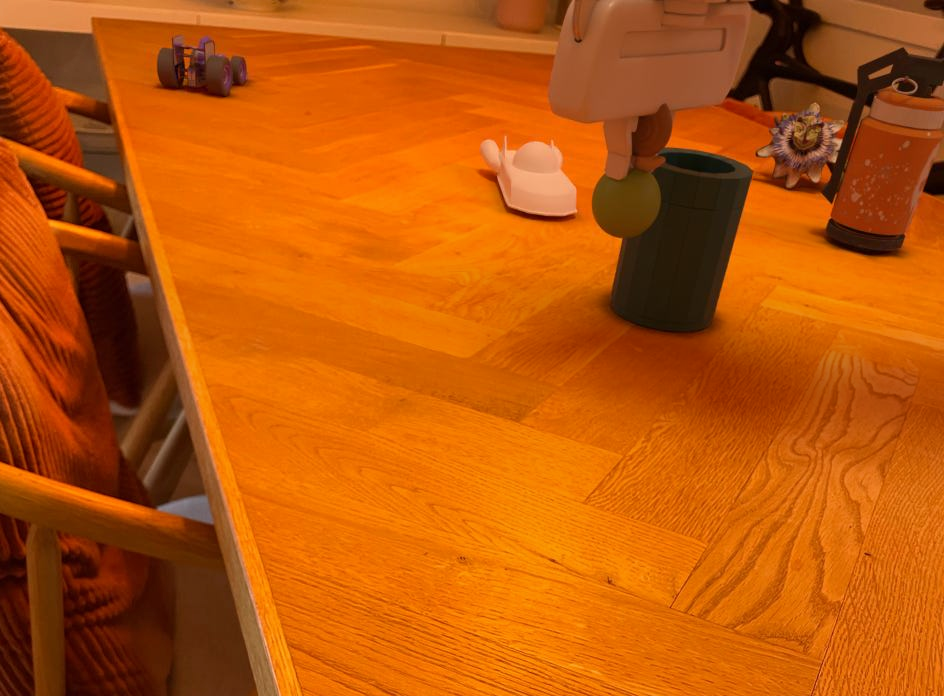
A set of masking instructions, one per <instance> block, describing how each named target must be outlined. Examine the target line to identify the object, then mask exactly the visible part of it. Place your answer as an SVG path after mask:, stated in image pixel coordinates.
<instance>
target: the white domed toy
mask: <svg viewBox="0 0 944 696" xmlns="http://www.w3.org/2000/svg"><path fill="white" fill-rule="evenodd" d="M507 141H508V140H507V135H504V138H503V143H502V149H501V150H500V148H499V146H498V145H497V143H496V141H494V140H493V139H485V140H483V141H482V142H481V143H480V146H479V154H480V156H481V158H482V159H483V161H484V162H485V164H486V165H487V167H488V168H490V169H491V170H492V171H493V172H495V175H496V177H497V182H498V185H499V187H500V190H501V193H502V195H503V199H504V202H505V204H506V205H507V207H508V208H511V209H514V210H517V211H520V212H524V213H526V214H531V215H539V216H545V217H566V216H570V215H573V214H577V213H578V210H577V187H576V186H575V184H574V183H573V182H571V180H570V179H569V177H568V176H567V175H566V174H565V172H564V171H562V167H563V158H564V157H563V154H562V152H561V150H560V149H559V148H558V147H557V146H555V145H554V140H553V139H551V140H550V145H548V144H547V143H545V142H543V141H539V140H538V141H537V140H536V141H535V140H534V141H528V142H527V143H525V144H523V145H521V146H520V147H519V148H518V149H517V150H514V149H508V145H507V144H508V143H507Z"/></svg>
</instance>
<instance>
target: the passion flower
mask: <svg viewBox="0 0 944 696" xmlns="http://www.w3.org/2000/svg"><path fill="white" fill-rule="evenodd" d="M820 109H821V107H820V106H819V104H818V103H817V102H813V103H812V104H810V105H809V107H808V108H807V109H803V110H802V111H801V112H800V110H798V112H797V113H796V114H795V112H792V113H791V114H790V115H789V114H788V113H785V112H784V113H781V117H780V119H778V116H777V115H776V114H775V115H774V117H773V122H774V125H775V127H774V128H769V129H768V132H769V134H770V135H771V136H772V138H771V141H770V142H769V143H768V144H765V145H764V146H762V147H760V148H758V149H757V150H756V151H755V153H754V155H755V156H756V158H761V159H765V158H766V159H767V158H773V160H774V167H773V170H772V179H773V180H778V179H784V181H785V183H784V185H785V189H787V190H791V189H793V188H794V187H795V186H796V184H797V183H798V182H799V180H800V178H801V177H802V176H803V175H805V176H807V177H808V179H809V180H810V182H812V183H813V184H816V185H817V184H818V183H819V182H820V180H821V178H822V174H823V169H824V168H825V166H827V168H828V170H829V173H830V175H831V174H832V171H833V168H834V165H835V162H836V159H837V156H838V152H839V149H840V146H841V143H842V140H843V138H839V137H836V135H837V134H838V132H839V131H840V130H841V129H842V128H843V127H844V124H845V122H844V120H843V119H838V120H831V121H828V122H827V120H825V117H823V118H821V119H820V115H821V114H822V112H821V111H820ZM823 120H825V121H823ZM847 162H848V160H847V161H846V164H845V167H844V170H843V173H842V176H841V179H840V182H839V185H838V188H837V191H836V192H838V190H839V187H840V184H841V181H842V178H843V175H844V172H845V168H846V165H847Z"/></svg>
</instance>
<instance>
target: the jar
mask: <svg viewBox="0 0 944 696" xmlns="http://www.w3.org/2000/svg"><path fill="white" fill-rule="evenodd" d="M657 156H662V157H665V159H666V160H665V162H664V163H663V164H662V165H660V166H659V167H657V168H656V169H654V170H653V172H652V173H651V174H652V175H653V176H654V177H655V179H656V181H657V183H658V185H659V188H660V193H661V204H660V209H659V212H658V215H657V217H656V219H655V220H654V222H653V223H652V225H651V226H650V227H649V228H648V229H647V230H646V231H644V232H643V233H641V234H639V235H637V236H635V237H631V238H621V244H620V248H619V253H618V258H617V263H616V268H615V272H614V277H613V278H614V279H613V282H612V287H611V292H610V293H611V294H610V296H611V297H610V302H609V303H610V304H609V305H610V308H611V310H612V311H613V312H614V313H616V314H617V315H618V316H619V317H621V318H623V319H625V320H627V321H629V322H631V323H634V324H636V325H639V326H641V327H645V328H649V329H654V330H659V331H666V332H676V333H688V332H689V333H690V332H697V331H698V332H699V331H701V330H704V329H707V328H708V327H710V326H711V325H712V323H713V320H714V316H715V313H716V310H717V306H718V302H719V299H720V296H721V291H722V288H723V285H724V281H725V277H726V274H727V270H728V266H729V263H730V259H731V255H732V252H733V248H734V244H735V241H736V237H737V235H738V230H739V226H740V222H741V218H742V215H743V212H744V209H745V205H746V200H747V198H748V197H747V196H748V193H749V190H750V186H751V183H752V179H753V175H754V170H753V169H752V168H751V167H750V166H749V165H747V164H745V163H744V162H741V161H738V160H737V159H734V158H731V157H728V156H724V155H721V154H717V153H713V152H708V151H705V150H699V149H691V148H685V147H684V148H682V147H672V146H668V147H667V146H665V147H664V148H663V149H662V150H661V151H660V152H658V154H657Z"/></svg>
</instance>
